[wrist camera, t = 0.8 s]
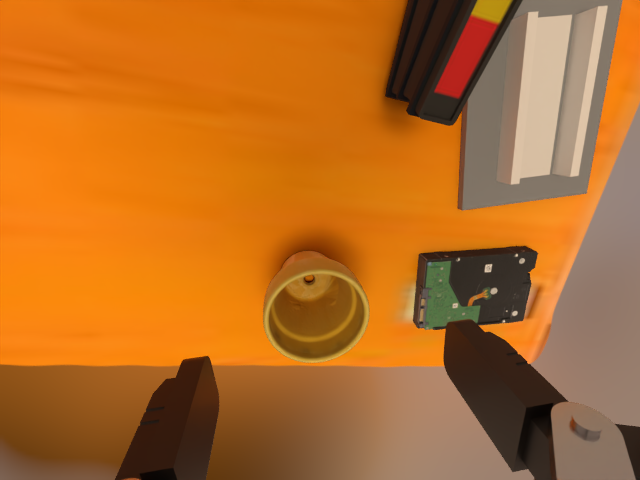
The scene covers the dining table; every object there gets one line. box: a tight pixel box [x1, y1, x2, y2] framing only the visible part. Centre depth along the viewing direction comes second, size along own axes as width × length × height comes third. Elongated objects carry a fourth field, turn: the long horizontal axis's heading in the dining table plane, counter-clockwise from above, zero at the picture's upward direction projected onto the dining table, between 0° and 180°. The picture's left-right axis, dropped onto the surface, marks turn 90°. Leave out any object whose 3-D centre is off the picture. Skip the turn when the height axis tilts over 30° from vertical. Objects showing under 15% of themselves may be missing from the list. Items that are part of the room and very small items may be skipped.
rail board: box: [458, 0, 622, 210], centre depth 35 cm, size 22×16×4 cm
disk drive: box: [413, 246, 538, 330], centre depth 42 cm, size 10×3×15 cm
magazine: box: [385, 0, 523, 126], centre depth 28 cm, size 4×13×15 cm, turn 168°
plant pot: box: [263, 251, 369, 363], centre depth 35 cm, size 10×10×10 cm
